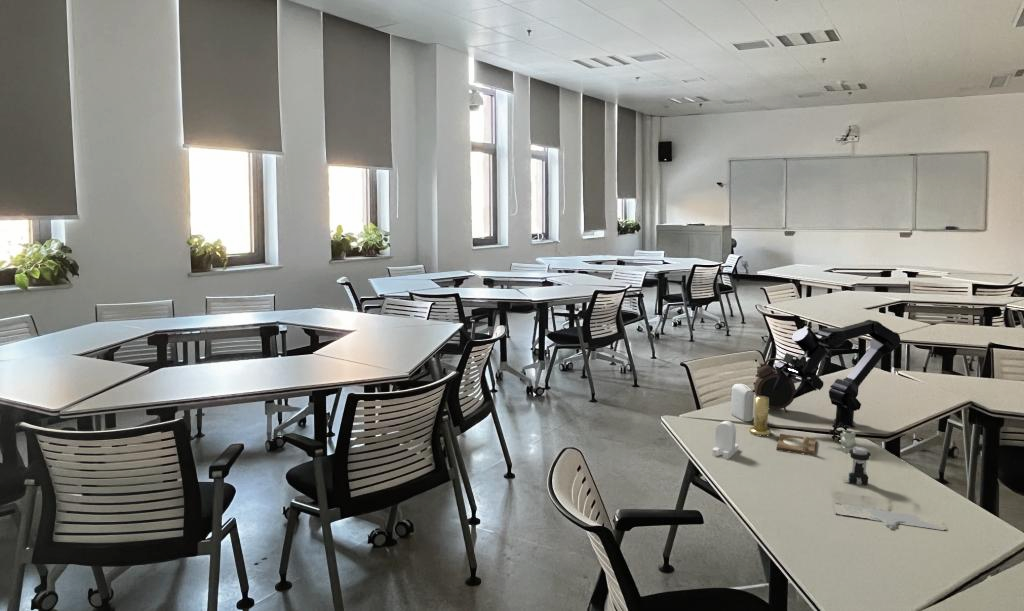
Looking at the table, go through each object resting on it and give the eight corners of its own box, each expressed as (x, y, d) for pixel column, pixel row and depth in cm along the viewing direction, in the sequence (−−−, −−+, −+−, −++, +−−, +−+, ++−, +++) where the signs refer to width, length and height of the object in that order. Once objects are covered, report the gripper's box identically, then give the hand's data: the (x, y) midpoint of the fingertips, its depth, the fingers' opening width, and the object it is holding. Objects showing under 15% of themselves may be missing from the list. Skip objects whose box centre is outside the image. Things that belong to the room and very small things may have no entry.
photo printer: (728, 413, 263) (730, 381, 261) (739, 413, 264) (741, 380, 262) (743, 422, 253) (745, 388, 251) (754, 421, 254) (756, 388, 252)
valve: (860, 455, 222) (849, 442, 233) (862, 434, 221) (851, 422, 232) (838, 453, 223) (828, 440, 235) (839, 433, 222) (829, 421, 234)
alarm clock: (755, 412, 265) (758, 360, 262) (752, 406, 272) (755, 355, 269) (796, 414, 262) (799, 361, 259) (792, 408, 269) (795, 357, 266)
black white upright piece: (844, 485, 198) (847, 451, 197) (840, 478, 204) (842, 444, 202) (870, 487, 197) (873, 453, 195) (865, 480, 202) (868, 446, 200)
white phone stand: (711, 455, 221) (712, 424, 220) (722, 446, 229) (723, 416, 228) (728, 459, 218) (729, 427, 217) (738, 449, 226) (739, 419, 225)
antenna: (835, 522, 177) (835, 518, 176) (829, 489, 198) (830, 485, 198) (950, 540, 168) (951, 535, 168) (931, 502, 190) (932, 498, 189)
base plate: (780, 436, 238) (780, 422, 238) (815, 441, 234) (816, 426, 233) (776, 450, 226) (777, 435, 225) (813, 455, 221) (814, 440, 220)
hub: (769, 437, 237) (772, 401, 235) (748, 434, 240) (750, 399, 238) (772, 429, 246) (774, 394, 244) (751, 426, 248) (753, 392, 247)
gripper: (780, 338, 249) (752, 372, 248) (818, 351, 232) (789, 387, 230) (797, 358, 253) (770, 391, 252) (836, 371, 236) (807, 407, 234)
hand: (783, 394), depth 242 cm, fingers open, 9 cm apart
